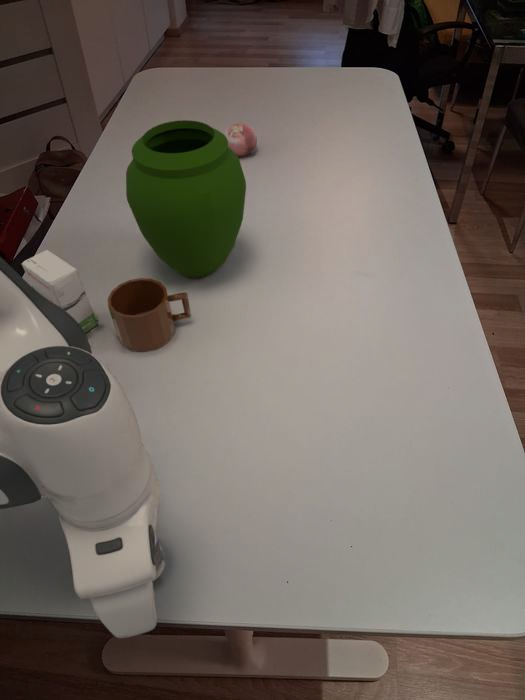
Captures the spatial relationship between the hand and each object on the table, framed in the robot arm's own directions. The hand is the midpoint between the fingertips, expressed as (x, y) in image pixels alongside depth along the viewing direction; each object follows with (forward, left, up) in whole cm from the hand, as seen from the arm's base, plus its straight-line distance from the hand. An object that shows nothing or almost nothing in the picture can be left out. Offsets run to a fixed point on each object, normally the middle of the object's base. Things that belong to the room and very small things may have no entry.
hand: (139, 553), depth 59 cm
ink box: (-8, +44, -3) cm, 45 cm away
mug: (+5, +38, -3) cm, 39 cm away
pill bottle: (0, 0, -3) cm, 3 cm away
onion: (+32, +93, -3) cm, 98 cm away
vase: (+15, +53, -3) cm, 55 cm away
